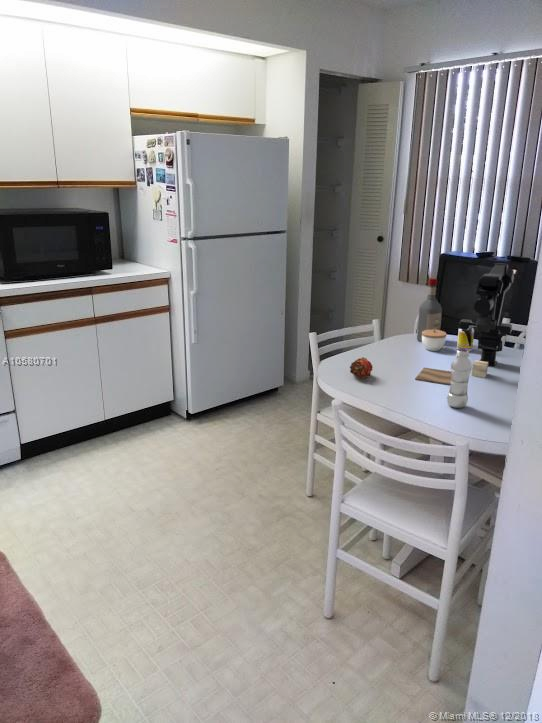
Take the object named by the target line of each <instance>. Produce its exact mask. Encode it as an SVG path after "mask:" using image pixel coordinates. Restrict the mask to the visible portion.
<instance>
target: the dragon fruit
mask: <svg viewBox="0 0 542 723" xmlns="http://www.w3.org/2000/svg"><path fill="white" fill-rule="evenodd" d="M373 367H374V366H373V364H372V362H371V361H370V360H368V359H367V358H366V357H363V356H362V357H361V358H357V359H355V360H354V362H353V361H352V362H351V364H350V366H349V369H350V370H349V373H350V374H352V375H354V377H356V378H358V379H360V378H363V379H364V378H370V377H371V372H372V371H373Z"/></svg>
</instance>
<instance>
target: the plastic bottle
mask: <svg viewBox="0 0 542 723" xmlns="http://www.w3.org/2000/svg"><path fill="white" fill-rule="evenodd" d="M455 355H456V357H455V358H454V360H452V362H451V364H450V371H451V385H449V392H448V395H447V397H446V399H447V401H446V402H447V404H448V406H450V407H452V408H455V409H462V408H465V407H466V406H467V404H468V401H469V397H468V388H469V387H468V386H469V385H468V384H469V381H470V380H469V378H470V374H471V373H472V368H473V364H472V363H471V361H470V359H469V356H470V351H468V350H466V349H456V353H455Z"/></svg>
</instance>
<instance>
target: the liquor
mask: <svg viewBox="0 0 542 723" xmlns="http://www.w3.org/2000/svg"><path fill="white" fill-rule="evenodd" d="M437 286H438V279H437V277H430V278H428V291H427V297H426V299H425V300H424V301H423V302H422V303H421V304H420V305H419V308H418V321H417V333H416V339H417V342H419V343H422V331H424V330H433V329H436V330H440V331H441V327H442V325H441V324H442V313H443V308H442V305H441V304H440V302H439V301H438V300H437V298H436V294H437Z"/></svg>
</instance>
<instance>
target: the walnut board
mask: <svg viewBox="0 0 542 723" xmlns="http://www.w3.org/2000/svg"><path fill="white" fill-rule="evenodd" d="M415 381H421V382H428V383H434V384H440V385H444V386H445V385H446V386H450V385H451V370H450V371H449V370H445V369H436V368H429V367H423V368H422V370H421V371H420V372H419V373H418V375H417V376H416V377H415Z"/></svg>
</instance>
